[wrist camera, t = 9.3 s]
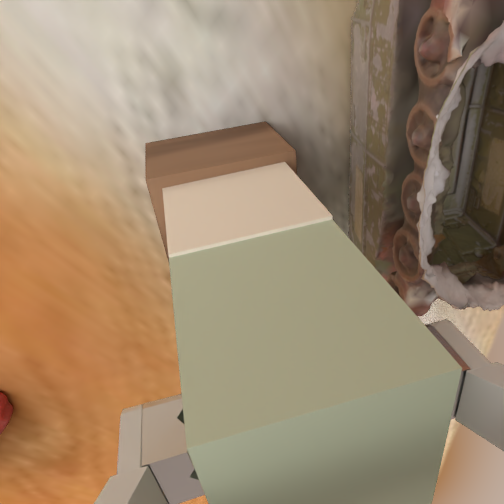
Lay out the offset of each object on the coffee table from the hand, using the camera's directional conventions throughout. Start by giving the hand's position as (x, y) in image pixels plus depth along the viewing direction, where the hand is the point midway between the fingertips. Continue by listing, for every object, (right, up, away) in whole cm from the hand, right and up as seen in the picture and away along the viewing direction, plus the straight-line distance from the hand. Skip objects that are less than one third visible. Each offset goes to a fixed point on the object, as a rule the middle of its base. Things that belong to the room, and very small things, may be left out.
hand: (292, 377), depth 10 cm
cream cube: (-2, +4, +7) cm, 8 cm away
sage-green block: (-1, +2, +3) cm, 3 cm away
